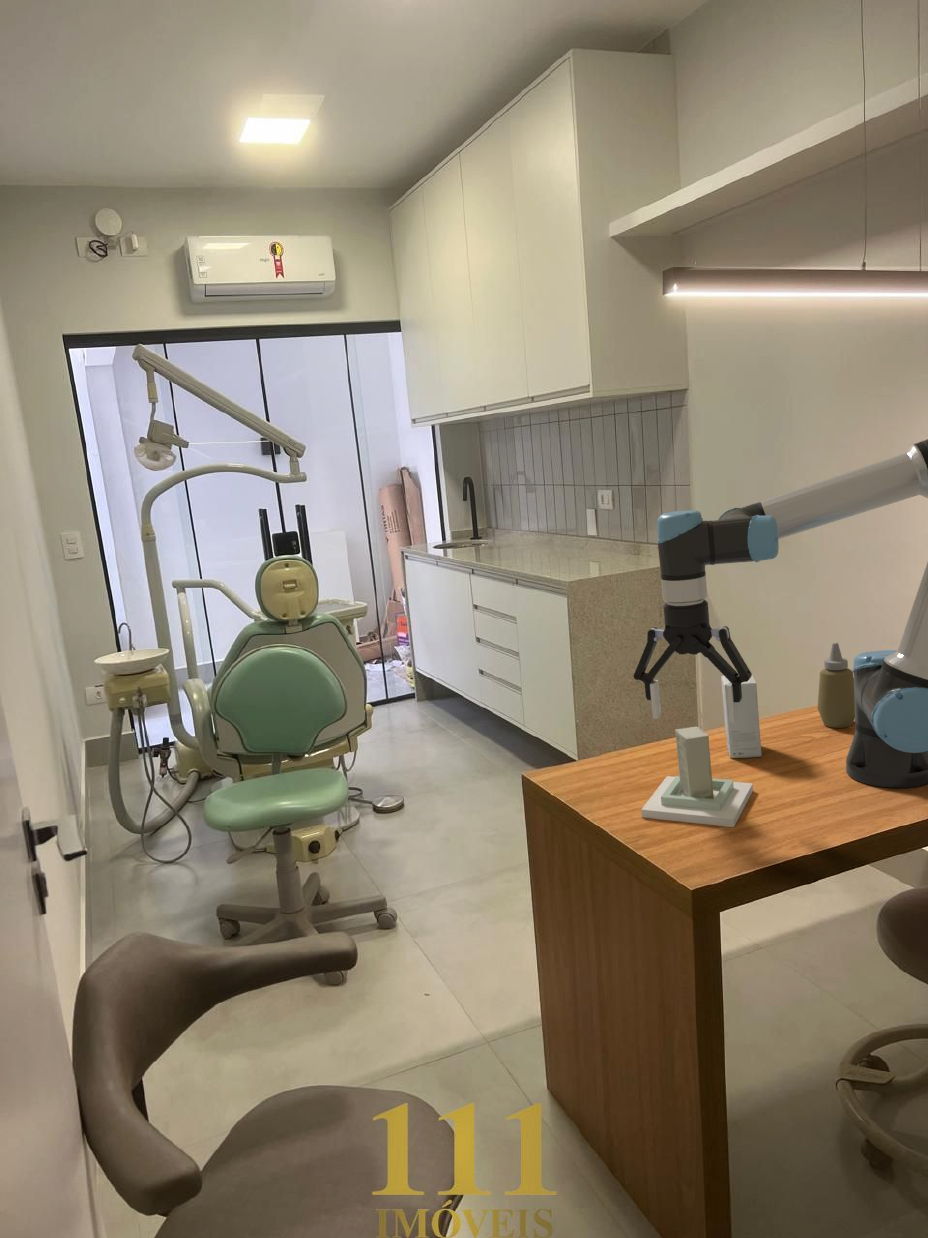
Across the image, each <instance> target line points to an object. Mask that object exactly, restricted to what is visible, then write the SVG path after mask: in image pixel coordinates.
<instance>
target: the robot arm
mask: <svg viewBox="0 0 928 1238" xmlns="http://www.w3.org/2000/svg"><path fill="white" fill-rule="evenodd" d="M918 496H922V497H924V498H926V499H928V439H924V440H922V441H919V442H916V443H912V444H910V445H909V446H908V448H907V450H906V452H905V453H901V454H899V455H897V456H894V457H890V458H887V459H884V460H881V461H878V462H875V463H871V464H869V465H866V466H863V467H860V468H857V469H854V470H851V471H848V472H845V473H842V474H839V475H835V476H833V477H830V478H826V479H824V480H821V481H818V482H814V483H811V484H808V485H805V486H802V487H799V488H796V489H794V490H791V491H787V492H785V493H782V494H779V495H776V496H774V497H770V498H767V499H764V500H761V501H759V502H755V503H752V504H749V505H746V506H743V507H733V508H731V509H728V510H726V511H724V512H723V513H722V514H721V515H720V516H719V517H718V519H715V520H703V517H702V513H701V512H700V511H699V510H697V509H695V510H694V509H692V510H691V509H690V510H689V509H688V510H675V511H669V512H665V513H663V514H661V515H660V516H659V517H658V518H657V521H656V527H657V531H656V532H657V548H658V560H659V569H660V571H659V572H660V579H661V580H660V581H661V593H662V601H664V602H665V603H664V605H663V616H664V617H663V620H664V629H660V628H657V626H653V627H652V628H650V629H648V631H647V640H646V641H647V642H646V645H645V646H644V650H643V652H642V654H641V656H640V659H639V662H638V664H637V666H636V669H635V671H634V674H633V675H632V676H633V679H634V680H635V681H641V682H642V683H644V684H643V685H644V691H645V699H646V700H647V701H650V703H651V714H652V720H658V718H660V716H662V709H661V695H660V685H659V684H660V683H659V679H655V678H656V677H657V675H658V674H659V672H660V671H661V670H662V668H663V667H664V666H665V664H667V662H668V661H669V660H670V658H671V657H672V655H673V654H675V653H676V654H678V655H688V654H689V655H698V654H701V655H702V656H704V657H705V658H706V659H708V661H710V662H711V664H713V666H714V667H715V668H716V669H717V670H718V671H719V672H720V673H721V674H722V676H725V677H726V678H727V679H728V680H729V681H730V683H729V684H728V685H727V692H728V706H729V719H730V722H735V720H736V719H737V703H736V702H740V701H741V699H742V689H741V683H742V682H747V681H748V680H749V679H750V678H751V676H752V675H753V672H752V671H751V670H750V668H749V667H748V665H747V663H746V662H745V659H744V658H743V657H742V655H741V653H740V651H739V650H738V648H737V647H736V644H735V643H734V641H733V639H732V638H731V632H730V628H729V627H728V626H726V625H725V626H722V627H721V628H712V627H711V625H710V613H709V602H708V600H706V598H707V597H708V587H707V575H706V574H707V573H706V566H715V565H722V564H737V563H738V564H739V563H751V562H755V563H759V562H761V561H769V560H773V559H775V558H777V556H778V554H779V540H780V539H784V538H787V537H789V536H793V535H796V534H800V533H802V532H805V531H809V530H811V529H815V528H818V527H821V526H824V525H827V524H831V523H834V522H837V521H838V522H839V521H840V520H844V519H847V518H850V517H853V516H856V515H859V514H862V513H866V512H869V511H873V510H875V509H876V510H877V509H879V508H882V507H885V506H888V505H891V504H894V503H897V502H900V501H904V500H907V499H910V498H913V497H918ZM662 637H663V638H664V640H665V641H666V642H667V643H668V644H669V645H668V646H667V647H666V649H665V650H664V651H663V653H662V654H661V655H660V657H659V658H658V660H657V661H656V662H655V664H654V665H653V666H652V667H651V669H650V670H649V671H648V672H646V670H647V668H648V666H649V663H650V661H651V659H652V655H653V653H654V651H655V648H656V647H657V643H658V642H659V641H661V639H662ZM713 637H714V638H715V640H717V642H720V644H721V645H720V646H722V648H723V650H724V652H725V653H726V655H727V657H728V659H729V660H730V662H731V664H732V665H733V666H732V665H731V664H730V663H729V662H728V661H727V660H726V659H725V658H724V657H723V656H722V655H721V654H720V653H719V652H718V651H717V650H716V648H715V646H713V644H712V643H711V642H710V640H711V639H712V638H713ZM898 645H899V646H898V648H897V649H890V650H887V649H886V650H873V651H872V650H871V651H865V652H861V653H858V654H856V655H855V657H854V658H853V665H852V666H853V668H852V669H851V671H852V672H853V677H854V701H855V719H854V723H855V724H854V725H855V727H854V728H855V729H854V735H853V738H852V741H851V743H850V747H849V750H848V753H847V756H846V760H845V770H846V773H847V775H848V776H849V777H850V778H851V779H853V780H855V781H858V782H860V783H863V784H866V785H869V786H875V787H881V788H892V789H898V788H899V789H900V788H901V789H902V788H903V789H905V788H915V787H919V786H921V787H922V786H924V785H927V784H928V561H927V563H926V566H925V568H924V572H923V575H922V578H921V580H920V584H919V587H918V590H917V592H916V596H915V598H914V600H913V604H912V607H911V610H910V612H909V615H908V619H907V621H906V624H905V627H904V630H903V634H902V637H901V640H900V642H899V644H898ZM733 667H734V668H733Z"/></svg>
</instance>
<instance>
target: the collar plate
mask: <svg viewBox="0 0 928 1238" xmlns="http://www.w3.org/2000/svg"><path fill="white" fill-rule="evenodd" d="M712 784H713V795H714V799H707V798H696V797H686V796H684V795H683V794H682V792H681V787H680V777H679V775H676V776H669V775H668V776H667V775H666V777H665V778H664V780H662V782H661V783H660V785H659V786H658V787H657V788H656V790H655V791H654V793H653V794H652V795H651V796H650V798H649V799H648V800H647V801H646V803H644V806H642V808H641V818H644V819H653V820H662V821H663V820H664V821H670V822H672V821H673V822H681V823H688V824H689V823H691V824H697V825H698V824H699V825H708V826H716V827H717V826H718V827H725V828H726V827H728V828H735V825H736V824H737V822H738V821H739V818H740V816H742V815H741V814H743V811H744V809H745V807H746V805H747V803H748V801H749V800H750V798H751V796H752V794H753V791H754V783H751V782H743V781H742V782H739V781H734V780H733V779H723V778H715V777H712Z"/></svg>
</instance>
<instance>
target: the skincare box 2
mask: <svg viewBox="0 0 928 1238" xmlns="http://www.w3.org/2000/svg"><path fill="white" fill-rule="evenodd" d="M720 680H721V691H722V704H723V716H724V717H723V718H724V727H725V737H726V739H725V740H726V748H727V751H728V754H729V755H728V756H729V758H730V759H743V758H744V759H745V758H746V759H747V758H748V759H749V758H761V757H762V742H761V732H760V731H761V730H760V729H761V728H760V715H759V713H760V712H759V702H758V687H757V682H756V680H755V677H754V675H753V674H752V676H751V678H750V679H749V680H748V681H747V682H742V683H741V689H742V699H741V701H740V702H736V703H737V719H736V720H735V722H730V719H729V706H728V692H727V685H728V684H729V683H730V681H729V680H728V679H727V678H726V677H725V676H724V675H721V678H720Z"/></svg>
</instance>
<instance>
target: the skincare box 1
mask: <svg viewBox="0 0 928 1238" xmlns="http://www.w3.org/2000/svg"><path fill="white" fill-rule="evenodd" d="M674 730H675V731H674V732H675V733H674V734H675V743H676V751H677V752H676V754H677V764H678V774H679V775H678V776H679V777H680V787H681V792H682V794H683V795H684V796H686V797H696V798H707V799H714V795H713V784H712V778H713V775H712V762H711V751H710V739H709V736H710V735H709V734H707V733H706V732H705V731H704V730H703V729H701V728H700V727H699V726H698V725H697V726H696V725H695V726H690V727H683V728H676V729H674Z"/></svg>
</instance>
